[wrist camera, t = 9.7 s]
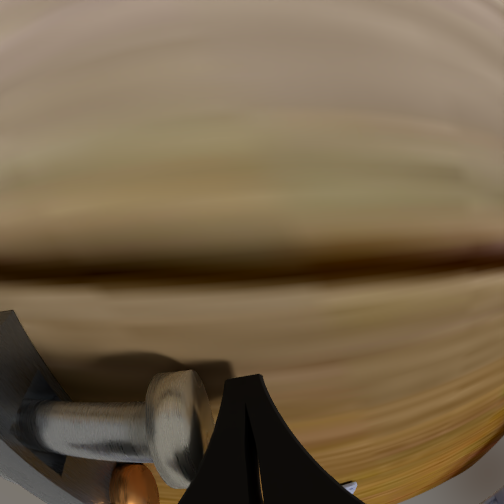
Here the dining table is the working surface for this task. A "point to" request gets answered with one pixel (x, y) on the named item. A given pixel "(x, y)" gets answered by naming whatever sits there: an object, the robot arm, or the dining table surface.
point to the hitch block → (32, 460)
